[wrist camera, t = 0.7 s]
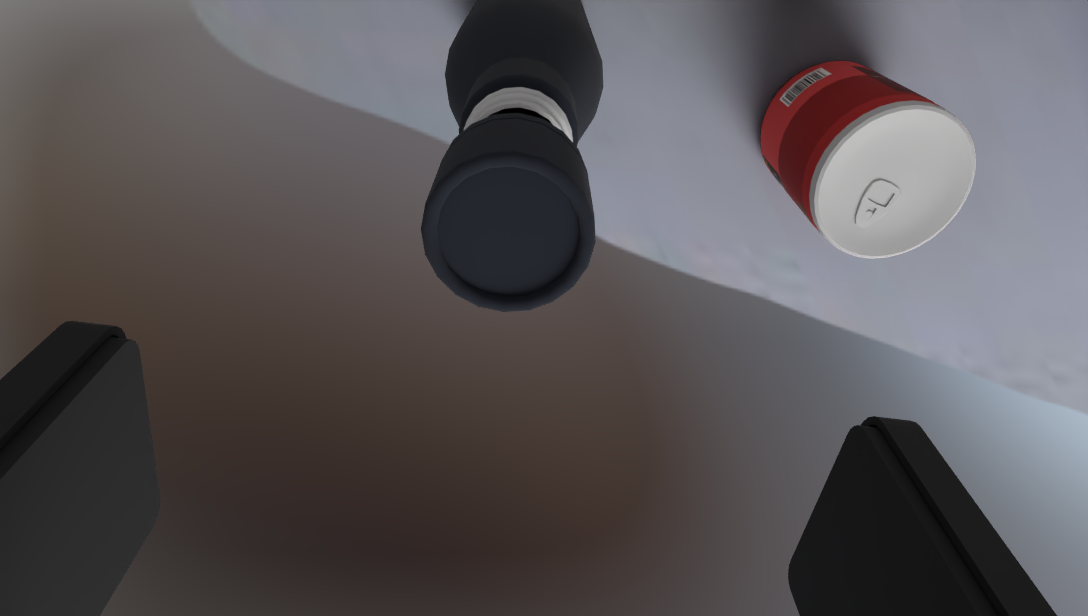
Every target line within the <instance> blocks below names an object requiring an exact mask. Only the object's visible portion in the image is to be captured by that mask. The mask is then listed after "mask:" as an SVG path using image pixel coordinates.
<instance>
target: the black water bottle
mask: <svg viewBox="0 0 1088 616" xmlns="http://www.w3.org/2000/svg"><path fill="white" fill-rule="evenodd" d="M445 78H446V85H447V92H448V99H449V105H450V108H451V110H452V112H453V115H454V117H455V119H456V121H457V123H458V125H459V135H458V136H457V137H456V138H455V139H454V140H453V141H452V143H451V145H450V147H449V149H448V150H447V152H446V154H445V156H444V158H443V159H442V161H441V164H440V167H439V169H438V172H437V175H436V177H435V180H434V182H433V185H432V188H431V190H430V193H429V195H428V198H427V201H426V203H425V209H424V214H423V220H422V226H421V232H422V238H423V244H424V249H425V255H426V257H427V259H428V260H429V262H430V264H431V266H432V268H433V270H434V272H435V273H436V275H437V277H438V278H439V279H440V280H441V281H442V282H443V283H444V284H445V285H446V286H447V287H449V289H450V290H452V291H453V292H454V293H455V294H456V295H458V296H460V297H461V298H463V299H465V300H467V301H469V302H471V303H473V304H475V305H477V306H478V307H483V308H488V309H493V310H497V311H502V312H509V311H524V310H531V309H534V308H537V307H539V306H542V305H545V304H548V303H550V302H553V301H554V300H556V299H557V298H559V297H560V296H561V295H563V294H564V293H566V292H567V291H568V290H570V289H571V288H572V287H574V285H575V284H576V282H577V281H578V280H579V278H580V277H581V275H582V274H583V272H584V271H585V270H586V269H587V267H588V265H589V262H590V258H591V255H592V252H593V248H594V245H595V221H594V211H593V205H592V199H591V192H590V186H589V180H588V173H587V170H586V167H585V164H584V162H583V159H582V157H581V154H580V152H579V149H578V148H577V144H578V141H579V140H580V138H581V137H582V135H583V134H584V132H585V131H586V129H587V128H588V126H589V124H590V123H591V121H592V120H593V118H594V116H595V114H596V111H597V108H598V104H599V101H600V97H601V93H602V90H603V68H602V60H601V57H600V54H599V51H598V48H597V45H596V43H595V40H594V37H593V34H592V31H591V28H590V25H589V23H588V20H587V17H586V14H585V11H584V9H583V6H582V3H581V0H477V2H476V4H475V5H474V7H473V8H472V10H471V12H470V13H469V15H468V16H467V18H466V20H465V21H464V23H463V24H462V26H461V28H460V30H459V32H458V33H457V35H456V37H455V39H454V41H453V43H452V45H451V47H450V49H449V54H448V60H447V65H446V71H445Z"/></svg>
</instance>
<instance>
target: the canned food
mask: <svg viewBox="0 0 1088 616" xmlns="http://www.w3.org/2000/svg"><path fill="white" fill-rule="evenodd" d="M760 140H761V151H762V155H763V158H764V161H765V163H766V165H767V167H768V168H769V170H770V172H771V173H772V174H773V175H774V177H775V178H776V179H777V180H778V182H779V183H780V184H781V185H782V187H783V188H784V189H785V190H786V192H787V193H788V194H789V196H790V197H791V198H792V199H793V201H794V202H795V203H796V204H797V206H798V207H799V208H800V209H801V211H802V212H803V213H804V214H805V216H806V217H807V218H808V219H809V221H810V222H811V223H812V224H813V225H814V227H815V228H816V229H817V230H818V231H819V232H820V233H821V234H822V235H823V236H824V237H825V238H826V239H827V240H828V241H829V242H830V243H831V244H833V245H834V246H835V247H837V248H838V249H840V250H841V251H843V252H845V253H847V254H850V255H853V256H856V257H862V258H871V259H873V258H887V257H891V256H895V255H899V254H903V253H905V252H907V251H910V250H912V249H915V248H917V247H919V246H920V245H922V244H924V243H925V242H927V241H929V240H930V239H932V238H933V237H934V236H935V235H937V234H938V233H939V232H940V231H941V230H943V229H944V228H945V227H946V226H947V225H948V223H949V222H950V221H951V220H952V219H953V218H954V217H955V216H956V214H957V213H958V211H959V210H960V208H961V207H962V205H963V204H964V202H965V200H966V198H967V196H968V194H969V191H970V189H971V187H972V183H973V179H974V175H975V167H976V154H975V149H974V143H973V141H972V139H971V136H970V134H969V132H968V130H967V129H966V128H965V127H964V125H963V124H962V123H961V122H960V120H958V119H957V118H956V117H955V116H954V115H953V114H951V113H950V112H948V111H947V110H946V109H944V108H943V107H941V106H939V105H937V104H935V103H934V102H933V101H931V100H929V99H927V98H925V97H923V96H921V95H919V94H917V93H915V92H913V91H911V90H910V89H908V88H906V87H904V86H902V85H900V84H898V83H896V82H894V81H892V80H890V79H888V78H886V77H885V76H883V75H881V74H879V73H877V72H875V71H873V70H871V69H869V68H867V67H865V66H863V65H860V64H857V63H855V62H848V61H831V62H825V63H822V64H818V65H815V66H812V67H809V68H807V69H805V70H803V71H801V72H799V73H798V74H796V75H795V76H794V77H792V78H791V79H789V80H788V81H787V82H786V83H785V84H784V85H783V86H782V87H781V88H780V89H779V90H778V92H777V93H776V95H775V96H774V97H773V99H772V100H771V102H770V104H769V106H768V108H767V110H766V112H765V116H764V119H763V122H762V130H761V139H760Z"/></svg>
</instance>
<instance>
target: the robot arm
mask: <svg viewBox="0 0 1088 616" xmlns="http://www.w3.org/2000/svg"><path fill="white" fill-rule="evenodd" d="M159 508H160V492H159V485H158V478H157V471H156V464H155V457H154V450H153V442H152V436H151V428H150V422H149V414H148V407H147V400H146V394H145V386H144V379H143V372H142V365H141V357H140V351H139V347H138V344H137V343H136V341H134V340H130V339H126V336H125V333H124V332H123V330H122V329H121V328H119V327H117V326H110V325H102V324H94V323H85V322H77V321H69V322H65V323H63V324H62V325H60V326H59V327H58V328H57V329H56V330H55V331H53V332H52V333H51V334H50V335H49V336H48V337H47V338H46V339H45V340H44V341H43V342H41V343H40V344H39V345H38V346H37V347H36V348H35V349H34V350H33V351H32V352H30V353H29V354H28V355H27V356H26V357H25V358H24V359H23V360H22V361H21V362H19V363H18V364H17V365H16V366H15V367H14V368H13V369H12V370H11V371H10V372H8V373H7V374H6V375H5V376H4V377H3V378H2V379H1V380H0V616H100V614H101V613H102V611H103V609H104V608H105V606H106V604H107V603H108V601H109V599H110V598H111V596H112V594H113V593H114V591H115V590H116V587H117V586H118V585H119V583H120V581H121V580H122V578H123V576H124V575H125V573H126V571H127V570H128V568H129V566H130V565H131V563H132V561H133V560H134V558H135V556H136V555H137V553H138V551H139V550H140V548H141V546H142V545H143V543H144V541H145V540H146V538H147V536H148V535H149V533H150V532H151V530H152V528H153V526H154V524H155V522H156V519H157V516H158V512H159ZM788 579H789V586H790V589H791V592H792V595H793V598H794V601H795V604H796V606H797V609H798V612H799V614H800V616H1057V615H1056V614H1055V612H1054V611H1053V610H1052V608H1051V607H1050V605H1049V604H1048V603H1047V601H1046V600H1045V599H1044V597H1043V596H1042V594H1041V593H1040V591H1039V590H1038V589H1037V587H1036V586H1035V585H1034V583H1033V582H1032V580H1031V579H1030V578H1029V576H1028V575H1027V573H1026V572H1025V571H1024V569H1023V568H1022V567H1021V565H1020V564H1019V562H1018V561H1017V560H1016V558H1015V557H1014V556H1013V554H1012V553H1011V551H1010V550H1009V549H1008V547H1007V546H1006V544H1005V543H1004V542H1003V540H1002V539H1001V537H1000V536H999V535H998V533H997V532H996V531H995V529H994V528H993V526H992V525H991V524H990V522H989V521H988V519H987V518H986V517H985V516H984V514H983V512H982V511H981V510H980V508H979V507H978V506H977V504H976V503H975V502H974V500H973V499H972V497H971V496H970V495H969V493H968V492H967V490H966V489H965V488H964V486H963V485H962V483H961V482H960V481H959V479H958V478H957V476H956V475H955V474H954V472H953V471H952V470H951V468H950V467H949V466H948V464H947V463H946V461H945V460H944V458H943V457H942V456H941V454H940V453H939V451H938V450H937V449H936V447H935V446H934V445H933V443H932V442H931V440H930V439H929V438H928V436H927V435H926V433H925V432H924V431H923V429H922V428H921V427H920V426H919V425H918V424H917V423H916V422H913V421H908V420H899V419H891V418H882V417H875V416H873V417H868V418H867V419H866V420H865V421H864V422H863V423H862V424H861V426H860V425H857V426H854V427H853V428H851V429H850V431H849V433H848V434H847V436H846V439H845V441H844V443H843V445H842V448H841V450H840V452H839V455H838V456H837V459H836V461H835V463H834V465H833V468H832V470H831V472H830V474H829V476H828V479H827V481H826V483H825V485H824V488H823V490H822V492H821V494H820V497H819V499H818V501H817V503H816V505H815V508H814V510H813V512H812V514H811V517H810V519H809V521H808V523H807V526H806V528H805V530H804V532H803V534H802V537H801V539H800V541H799V543H798V545H797V548H796V550H795V552H794V554H793V556H792V559H791V561H790V564H789V573H788Z"/></svg>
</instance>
